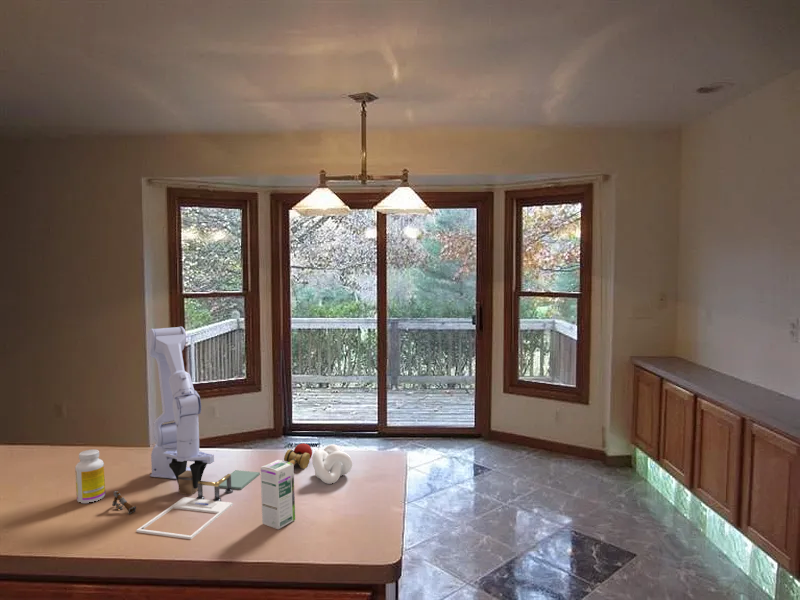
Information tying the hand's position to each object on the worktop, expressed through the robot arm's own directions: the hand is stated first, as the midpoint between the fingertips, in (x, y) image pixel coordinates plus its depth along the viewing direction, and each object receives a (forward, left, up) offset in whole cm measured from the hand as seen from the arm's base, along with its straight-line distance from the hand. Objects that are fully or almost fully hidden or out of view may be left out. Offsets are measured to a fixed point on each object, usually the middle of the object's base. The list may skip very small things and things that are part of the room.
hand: (189, 486), depth 148 cm
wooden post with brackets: (-10, -14, -2) cm, 17 cm away
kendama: (+22, +21, -2) cm, 30 cm away
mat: (+9, +10, -1) cm, 14 cm away
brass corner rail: (+9, -1, -1) cm, 9 cm away
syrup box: (+32, -11, -2) cm, 34 cm away
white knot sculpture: (+36, +17, -2) cm, 40 cm away
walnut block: (0, 0, -1) cm, 1 cm away
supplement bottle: (-23, -10, -2) cm, 25 cm away
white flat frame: (+9, -14, -2) cm, 16 cm away
